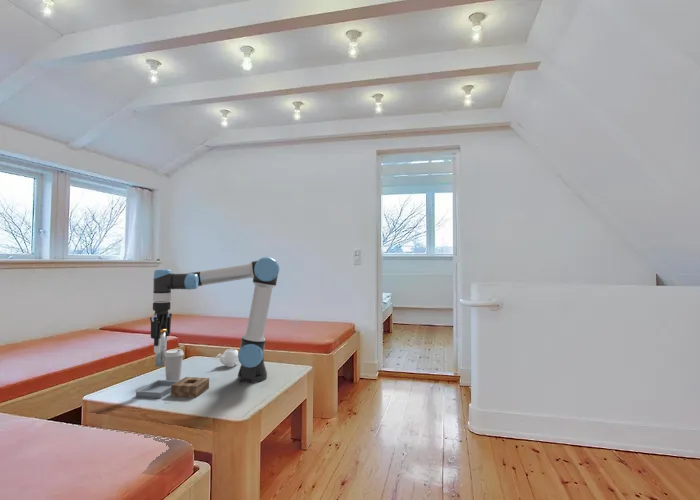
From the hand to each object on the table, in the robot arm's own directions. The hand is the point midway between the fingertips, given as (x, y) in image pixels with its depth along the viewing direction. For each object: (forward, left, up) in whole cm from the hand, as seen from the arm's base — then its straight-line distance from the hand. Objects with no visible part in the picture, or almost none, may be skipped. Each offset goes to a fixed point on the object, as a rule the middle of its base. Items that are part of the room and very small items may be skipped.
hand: (160, 351), depth 172 cm
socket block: (-15, -1, -19) cm, 24 cm away
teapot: (-15, -45, -19) cm, 51 cm away
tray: (0, 0, -19) cm, 19 cm away
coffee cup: (+3, -16, -19) cm, 25 cm away
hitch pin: (0, 0, -7) cm, 7 cm away
